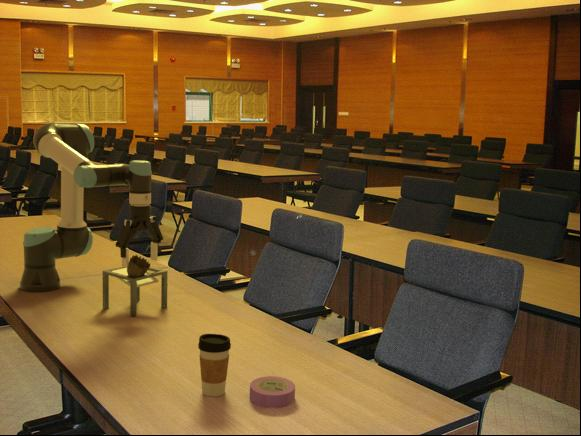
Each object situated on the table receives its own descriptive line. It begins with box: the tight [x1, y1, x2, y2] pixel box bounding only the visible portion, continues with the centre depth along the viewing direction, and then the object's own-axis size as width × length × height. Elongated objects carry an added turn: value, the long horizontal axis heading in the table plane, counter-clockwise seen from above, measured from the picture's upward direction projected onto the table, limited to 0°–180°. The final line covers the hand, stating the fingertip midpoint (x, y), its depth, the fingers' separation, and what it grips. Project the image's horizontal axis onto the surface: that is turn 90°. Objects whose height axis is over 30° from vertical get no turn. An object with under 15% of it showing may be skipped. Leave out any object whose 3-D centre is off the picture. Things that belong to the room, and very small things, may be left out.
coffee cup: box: [197, 333, 232, 398], centre depth 177 cm, size 8×8×15 cm
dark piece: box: [127, 254, 151, 277], centre depth 239 cm, size 8×7×8 cm
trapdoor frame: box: [102, 266, 168, 319], centre depth 246 cm, size 16×16×14 cm
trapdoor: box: [111, 268, 159, 288], centre depth 245 cm, size 12×12×1 cm
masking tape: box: [249, 375, 296, 409], centre depth 175 cm, size 12×12×4 cm
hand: (140, 263), depth 243 cm, fingers open, 13 cm apart
